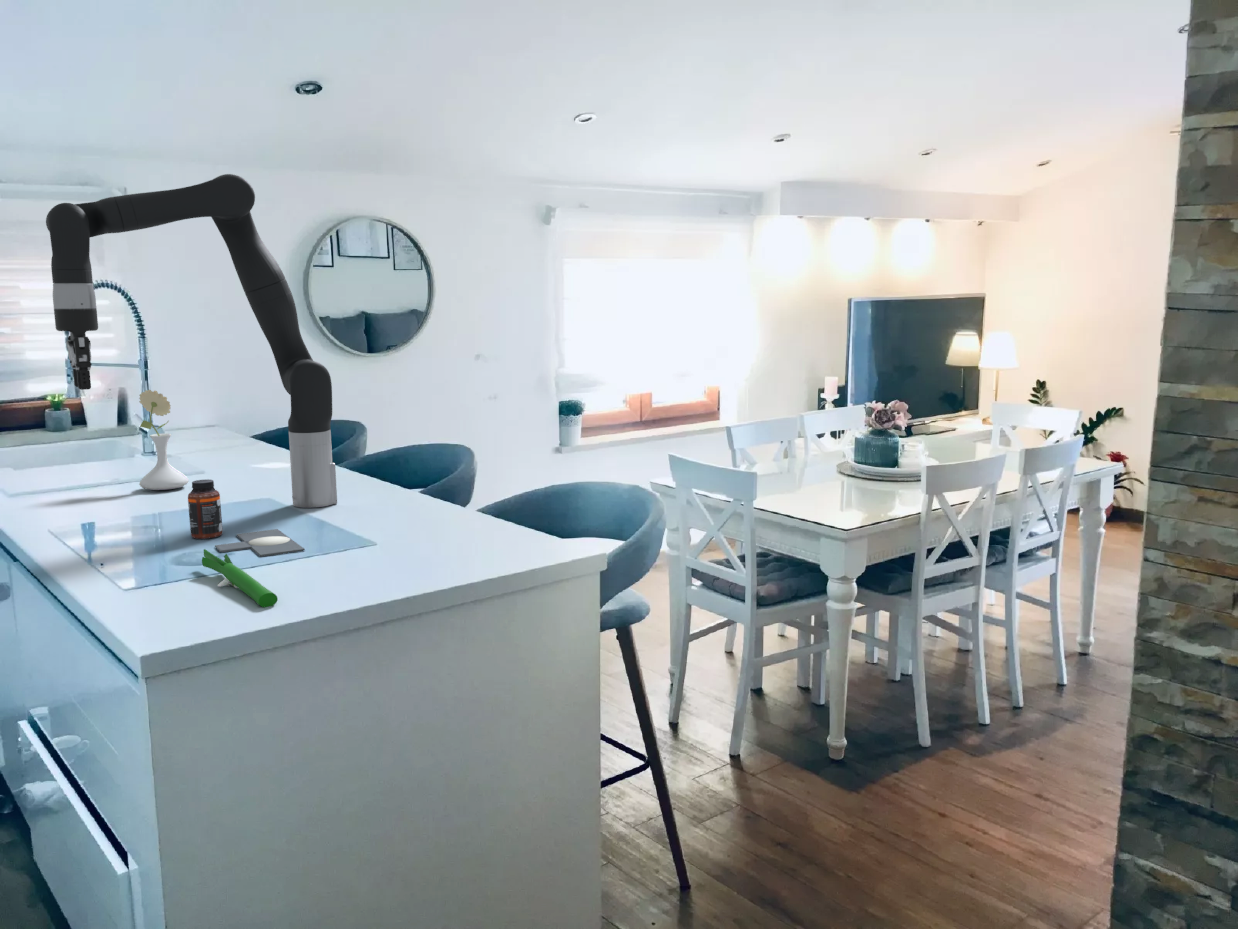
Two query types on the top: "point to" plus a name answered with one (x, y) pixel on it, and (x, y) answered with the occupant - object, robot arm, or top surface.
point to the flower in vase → (159, 447)
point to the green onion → (239, 579)
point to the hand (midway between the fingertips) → (82, 388)
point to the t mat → (263, 543)
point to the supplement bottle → (204, 510)
